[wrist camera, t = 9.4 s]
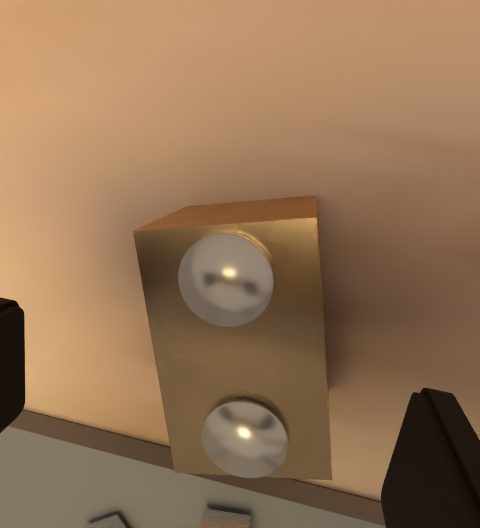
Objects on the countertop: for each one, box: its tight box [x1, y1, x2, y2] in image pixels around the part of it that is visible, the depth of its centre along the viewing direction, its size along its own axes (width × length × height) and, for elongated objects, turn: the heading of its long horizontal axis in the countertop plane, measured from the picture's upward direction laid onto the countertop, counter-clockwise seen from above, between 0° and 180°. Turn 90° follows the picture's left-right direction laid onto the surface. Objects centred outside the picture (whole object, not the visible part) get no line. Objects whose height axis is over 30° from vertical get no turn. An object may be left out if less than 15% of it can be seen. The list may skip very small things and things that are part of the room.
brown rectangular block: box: [133, 196, 332, 480], centre depth 14 cm, size 5×8×5 cm, turn 6°
